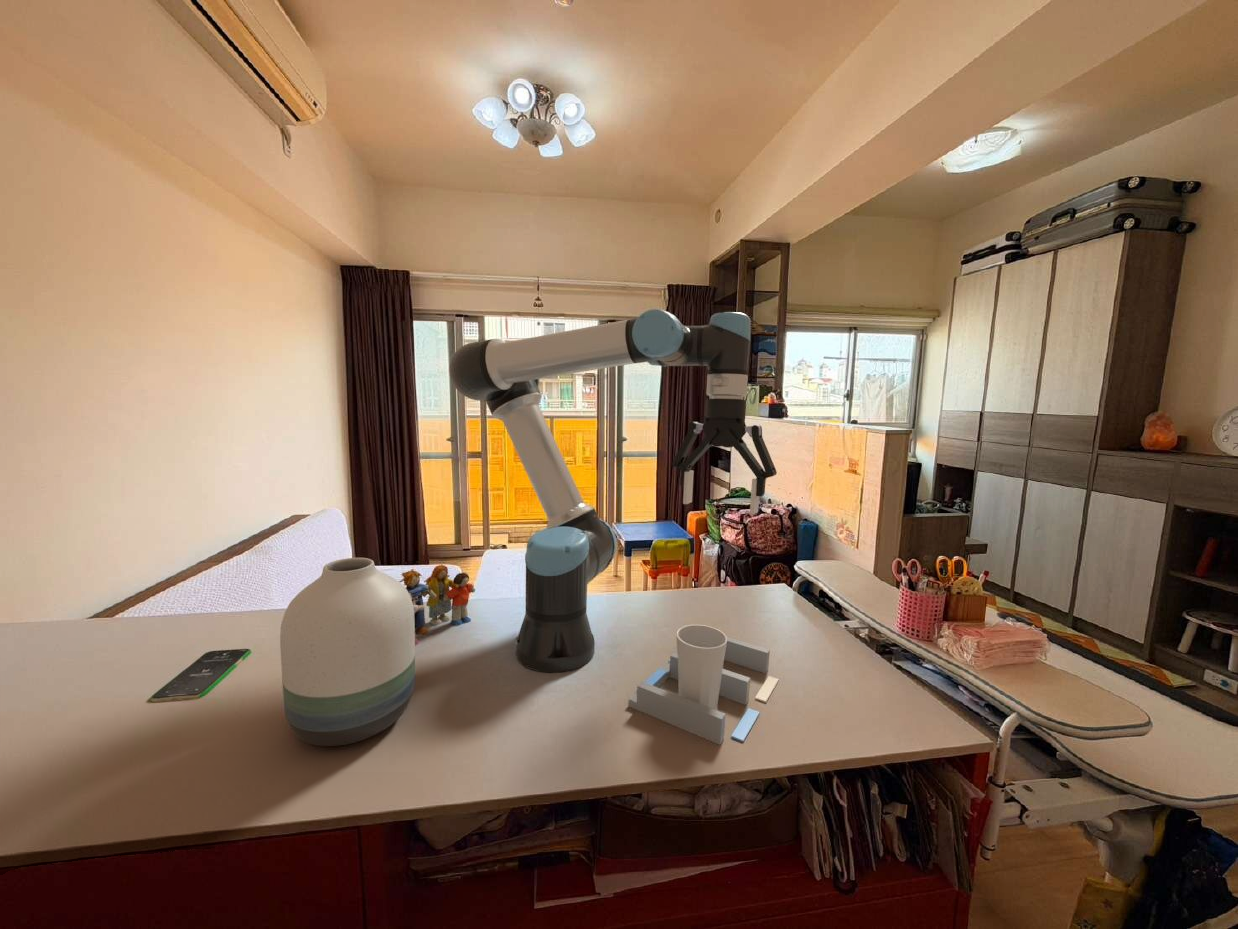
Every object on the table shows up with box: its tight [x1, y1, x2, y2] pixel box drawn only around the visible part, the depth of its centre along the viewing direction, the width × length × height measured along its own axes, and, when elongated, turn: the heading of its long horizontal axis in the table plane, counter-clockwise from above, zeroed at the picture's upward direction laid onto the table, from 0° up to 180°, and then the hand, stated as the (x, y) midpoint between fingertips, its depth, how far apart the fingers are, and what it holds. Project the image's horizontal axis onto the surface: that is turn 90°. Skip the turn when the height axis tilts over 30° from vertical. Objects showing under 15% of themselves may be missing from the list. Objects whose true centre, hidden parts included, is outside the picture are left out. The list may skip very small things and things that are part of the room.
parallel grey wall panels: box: [627, 636, 780, 746], centre depth 83 cm, size 18×24×4 cm
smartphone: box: [149, 648, 252, 703], centre depth 82 cm, size 8×1×15 cm
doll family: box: [398, 564, 476, 646], centre depth 100 cm, size 21×10×13 cm, turn 148°
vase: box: [279, 557, 416, 747], centre depth 70 cm, size 17×17×24 cm
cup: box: [676, 624, 728, 711], centre depth 77 cm, size 8×8×12 cm
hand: (719, 508), depth 94 cm, fingers open, 13 cm apart
